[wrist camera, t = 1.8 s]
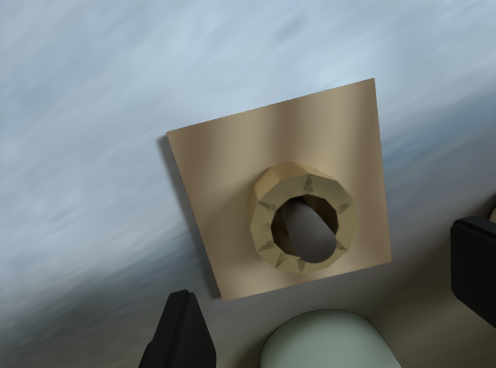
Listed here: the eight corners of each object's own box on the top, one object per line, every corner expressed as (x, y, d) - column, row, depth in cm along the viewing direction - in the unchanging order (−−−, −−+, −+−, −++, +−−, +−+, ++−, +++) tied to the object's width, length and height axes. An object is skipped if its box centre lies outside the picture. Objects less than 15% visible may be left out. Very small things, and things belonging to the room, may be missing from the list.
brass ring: (323, 153, 16) (350, 162, 12) (335, 229, 18) (363, 260, 14) (239, 174, 16) (239, 190, 12) (259, 248, 18) (264, 283, 14)
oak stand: (366, 80, 16) (460, 49, 9) (384, 255, 19) (461, 325, 13) (170, 131, 16) (121, 137, 9) (223, 293, 20) (216, 381, 13)
